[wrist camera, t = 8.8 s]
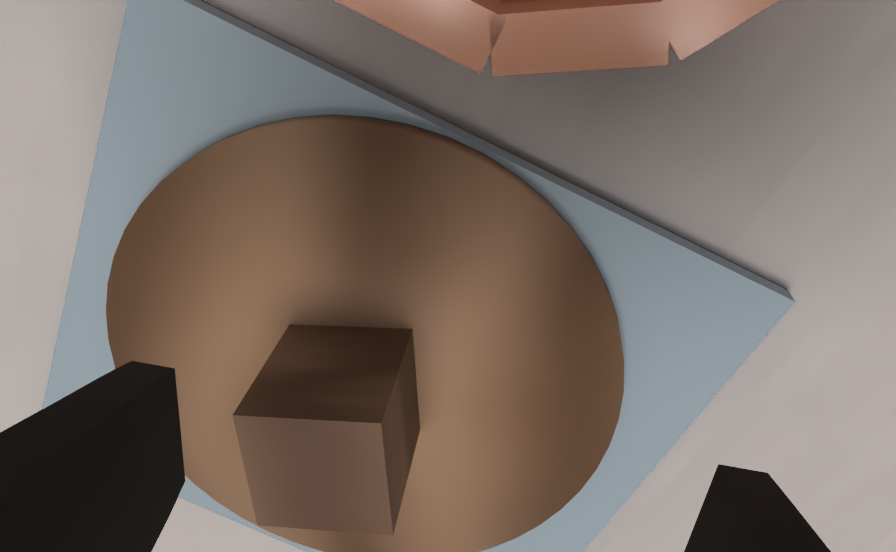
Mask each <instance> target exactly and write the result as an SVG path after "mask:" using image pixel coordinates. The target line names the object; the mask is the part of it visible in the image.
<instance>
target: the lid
mask: <svg viewBox="0 0 896 552" xmlns="http://www.w3.org/2000/svg"><path fill="white" fill-rule="evenodd" d="M106 319H107V330H108V340H109V345H110V349H111V353H112V357H113V361H114V365H115V369H116V368H118V367H120V366H122V365H124V364H126V363H128V362H130V361H136V362H142V363H147V364H153V365H159V366H164V367H170V368H175V376H176V386H177V397H178V408H179V418H180V429H181V440H182V450H183V461H184V472H185V476H186V477H187V478H189V479H190V480H191V481H192V482H193V483H194V484H195V485H196V486H197V487H199V488H200V489H201V490H203V491H204V492H205V493H206V494H208V495H209V496H210V497H211V498H213V499H214V500H215V501H217V502H218V503H220V504H221V505H223V506H224V507H226V508H227V509H229V510H230V511H232V512H234V513H235V514H237V515H238V516H240V517H241V518H243V519H245V520H247V521H249V522H251V523H253V524H255V525H256V526H258V527H260V528H262V529H264V530H266V531H268V532H270V533H273V534H275V535H278V536H280V537H282V538H285V539H287V540H290V541H292V542H294V543H298V544H301V545H304V546H307V547H310V548H313V549H317V550H320V551H323V552H480V551H483V550H487V549H490V548H493V547H495V546H498V545H500V544H503V543H505V542H508V541H510V540H513V539H515V538H517V537H519V536H521V535H523V534H525V533H526V532H528V531H530V530H532V529H534V528H536V527H537V526H539V525H541V524H542V523H543V522H545V521H546V520H547V519H549V518H550V517H551V516H553V515H554V514H556V513H557V512H558V511H560V510H561V509H562V508H563V507H564V506H565V505H566V504H567V503H568V502H569V501H570V500H571V499H572V498H573V497H574V496H575V495H577V494H578V493H579V492H580V491H581V489H582V488H583V487H584V485H585V484H586V483H587V481H588V480H589V479H590V478H591V476H592V475H593V474H594V472H595V471H596V470H597V468H598V466H599V464H600V462H601V461H602V459H603V457H604V455H605V453H606V451H607V450H608V448H609V446H610V443H611V440H612V438H613V435H614V432H615V429H616V426H617V423H618V420H619V416H620V410H621V404H622V399H623V393H624V357H623V350H622V344H621V337H620V331H619V324H618V318H617V315H616V312H615V309H614V305H613V302H612V299H611V296H610V293H609V290H608V287H607V285H606V283H605V281H604V279H603V277H602V275H601V273H600V271H599V269H598V267H597V265H596V263H595V261H594V259H593V257H592V255H591V254H590V252H589V251H588V249H587V248H586V246H585V245H584V244H583V242H582V241H581V239H580V238H579V236H578V235H577V233H576V232H575V230H574V229H573V228H572V226H571V225H570V224H569V223H568V222H567V221H566V220H565V219H564V218H563V217H562V215H561V214H560V213H559V212H558V211H557V210H556V209H555V208H554V207H553V206H552V205H551V203H550V202H549V201H548V200H547V199H546V198H544V197H543V196H542V195H541V194H540V193H538V192H537V191H536V190H535V189H534V188H532V187H531V186H530V185H529V184H528V183H527V182H525V181H524V180H523V179H522V178H521V177H519V176H518V175H517V174H515V173H514V172H512V171H510V170H509V169H507V168H506V167H504V166H503V165H501V164H500V163H498V162H496V161H495V160H493V159H492V158H490V157H489V156H487V155H485V154H484V153H482V152H479V151H477V150H475V149H473V148H471V147H469V146H467V145H465V144H463V143H460V142H458V141H456V140H454V139H452V138H450V137H448V136H444V135H441V134H438V133H435V132H432V131H429V130H426V129H423V128H420V127H417V126H414V125H411V124H406V123H401V122H396V121H391V120H385V119H380V118H375V117H367V116H350V115H334V114H330V115H317V116H303V117H293V118H288V119H283V120H279V121H274V122H270V123H265V124H260V125H257V126H254V127H252V128H249V129H246V130H244V131H241V132H238V133H236V134H233V135H230V136H228V137H225V138H223V139H222V140H220V141H218V142H216V143H215V144H213V145H211V146H209V147H207V148H206V149H204V150H202V151H200V152H199V153H197V154H195V155H194V156H192V157H191V158H190V159H188V160H187V161H185V162H184V163H183V164H182V165H180V166H179V167H178V168H177V169H175V170H174V171H173V172H172V173H170V174H169V175H168V176H167V177H165V178H164V179H163V180H162V181H161V182H160V183H159V184H158V185H157V186H156V187H155V188H154V189H153V191H152V192H151V193H150V194H149V195H148V196H147V197H146V198H145V200H144V201H143V202H142V203H141V204H140V206H139V207H138V209H137V210H136V212H135V214H134V215H133V217H132V218H131V220H130V222H129V223H128V225H127V226H126V228H125V230H124V232H123V235H122V237H121V239H120V242H119V244H118V247H117V249H116V252H115V254H114V257H113V261H112V266H111V270H110V275H109V279H108V284H107V300H106Z"/></svg>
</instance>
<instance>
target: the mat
mask: <svg viewBox="0 0 896 552" xmlns="http://www.w3.org/2000/svg"><path fill="white" fill-rule="evenodd" d="M330 114H334V115H350V116H367V117H375V118H380V119H385V120H391V121H396V122H401V123H406V124H411V125H414V126H417V127H420V128H423V129H426V130H429V131H432V132H435V133H438V134H441V135H444V136H448V137H450V138H452V139H454V140H456V141H458V142H460V143H463V144H465V145H467V146H469V147H471V148H473V149H475V150H477V151H479V152H482V153H484V154H485V155H487V156H489V157H490V158H492V159H493V160H495V161H496V162H498V163H500V164H501V165H503V166H504V167H506V168H507V169H509V170H510V171H512V172H514V173H515V174H517V175H518V176H519V177H521V178H522V179H523V180H524V181H525V182H527V183H528V184H529V185H530V186H531V187H532V188H534V189H535V190H536V191H537V192H538V193H540V194H541V195H542V196H543V197H544V198H546V199H547V200H548V201H549V202H550V203H551V205H552V206H553V207H554V208H555V209H556V210H557V211H558V212H559V213H560V214H561V215H562V217H563V218H564V219H565V220H566V221H567V222H568V223H569V224H570V225H571V226H572V228H573V229H574V230H575V232H576V233H577V235H578V236H579V238H580V239H581V241H582V242H583V244H584V245H585V246H586V248H587V249H588V251H589V252H590V254H591V255H592V257H593V259H594V261H595V263H596V265H597V267H598V269H599V271H600V273H601V275H602V277H603V279H604V281H605V283H606V285H607V287H608V290H609V293H610V296H611V299H612V302H613V305H614V309H615V312H616V315H617V318H618V324H619V331H620V337H621V344H622V350H623V357H624V393H623V399H622V404H621V410H620V416H619V420H618V423H617V426H616V429H615V432H614V435H613V438H612V440H611V443H610V446H609V448H608V450H607V451H606V453H605V455H604V457H603V459H602V461H601V462H600V464H599V466H598V468H597V470H596V471H595V472H594V474H593V475H592V476H591V478H590V479H589V480H588V481H587V483H586V484H585V485H584V487H583V488H582V489H581V491H580V492H579V493H578V494H577V495H575V496H574V497H573V498H572V499H571V500H570V501H569V502H568V503H567V504H566V505H565V506H564V507H563V508H562V509H561V510H560V511H558V512H557V513H556V514H554V515H553V516H551V517H550V518H549V519H547V520H546V521H545V522H543V523H542V524H541V525H539V526H537V527H536V528H534V529H532V530H530V531H528V532H526V533H525V534H523V535H521V536H519V537H517V538H515V539H513V540H510V541H508V542H505V543H503V544H500V545H498V546H495V547H493V548H490V549H487V550H483V551H480V552H583V551H584V550H585V549H586V548H587V547H588V546H589V544H590V543H591V542H592V541H593V540H594V539H595V537H596V536H597V535H598V534H599V533H600V531H601V530H602V529H603V528H604V527H605V526H606V524H607V523H608V522H609V521H610V520H611V518H612V517H613V516H614V515H615V514H616V513H617V511H618V510H619V509H620V508H621V507H622V505H623V504H624V503H625V502H626V501H627V500H628V498H629V497H630V496H631V495H632V494H633V492H634V491H635V490H636V489H637V488H638V487H639V485H640V484H641V483H642V482H643V481H644V480H645V478H646V477H647V476H648V475H649V474H650V472H651V471H652V470H653V469H654V468H655V467H656V465H657V464H658V463H659V462H660V461H661V459H662V458H663V457H664V456H665V455H666V454H667V452H668V451H669V450H670V449H671V448H672V446H673V445H674V444H675V443H676V442H677V441H678V439H679V438H680V437H681V436H682V435H683V434H684V432H685V431H686V430H687V429H688V428H689V426H690V425H691V424H692V423H693V422H694V421H695V419H696V418H697V417H698V416H699V415H700V413H701V412H702V411H703V410H704V409H705V408H706V406H707V405H708V404H709V403H710V402H711V400H712V399H713V398H714V397H715V396H716V395H717V393H718V392H719V391H720V390H721V389H722V388H723V386H724V385H725V384H726V383H727V382H728V380H729V379H730V378H731V377H732V376H733V375H734V373H735V372H736V371H737V370H738V369H739V367H740V366H741V365H742V364H743V363H744V362H745V360H746V359H747V358H748V357H749V356H750V354H751V353H752V352H753V351H754V350H755V349H756V347H757V346H758V345H759V344H760V343H761V342H762V340H763V339H764V338H765V337H766V336H767V334H768V333H769V332H770V331H771V330H772V329H773V327H774V326H775V325H776V324H777V323H778V321H779V320H780V319H781V318H782V317H783V316H784V314H785V313H786V312H787V311H788V310H789V308H790V307H791V306H792V305H793V304H794V303H795V301H794V299H793V297H792V296H791V294H790V292H789V291H788V290H786V289H784V288H782V287H780V286H778V285H776V284H774V283H772V282H770V281H768V280H766V279H764V278H762V277H760V276H758V275H756V274H754V273H752V272H750V271H748V270H746V269H744V268H742V267H740V266H738V265H736V264H734V263H732V262H730V261H728V260H726V259H724V258H722V257H720V256H718V255H716V254H713V253H711V252H709V251H707V250H705V249H703V248H701V247H699V246H697V245H695V244H693V243H691V242H689V241H687V240H685V239H683V238H681V237H679V236H677V235H675V234H673V233H671V232H669V231H667V230H665V229H663V228H661V227H659V226H657V225H655V224H653V223H651V222H649V221H647V220H645V219H643V218H641V217H639V216H636V215H634V214H632V213H630V212H628V211H626V210H624V209H622V208H620V207H618V206H616V205H614V204H612V203H610V202H608V201H606V200H604V199H602V198H600V197H598V196H596V195H594V194H592V193H590V192H588V191H586V190H584V189H582V188H580V187H578V186H576V185H574V184H572V183H570V182H568V181H566V180H564V179H562V178H559V177H557V176H555V175H553V174H551V173H549V172H547V171H545V170H543V169H541V168H539V167H537V166H535V165H533V164H531V163H529V162H527V161H525V160H523V159H521V158H519V157H517V156H515V155H513V154H511V153H509V152H507V151H505V150H503V149H501V148H499V147H497V146H495V145H493V144H491V143H489V142H487V141H485V140H483V139H480V138H478V137H476V136H474V135H472V134H470V133H468V132H466V131H464V130H462V129H460V128H458V127H456V126H454V125H452V124H450V123H448V122H446V121H444V120H442V119H440V118H438V117H436V116H434V115H432V114H430V113H428V112H426V111H424V110H422V109H420V108H418V107H416V106H414V105H412V104H410V103H408V102H406V101H403V100H401V99H399V98H397V97H395V96H393V95H391V94H389V93H387V92H385V91H383V90H381V89H379V88H377V87H375V86H373V85H371V84H369V83H367V82H365V81H363V80H361V79H359V78H357V77H355V76H353V75H351V74H349V73H347V72H345V71H343V70H341V69H339V68H337V67H335V66H333V65H331V64H329V63H326V62H324V61H322V60H320V59H318V58H316V57H314V56H312V55H310V54H308V53H306V52H304V51H302V50H300V49H298V48H296V47H294V46H292V45H290V44H288V43H286V42H284V41H282V40H280V39H278V38H276V37H274V36H272V35H270V34H268V33H266V32H264V31H262V30H260V29H258V28H256V27H254V26H252V25H250V24H247V23H245V22H243V21H241V20H239V19H237V18H235V17H233V16H231V15H229V14H227V13H225V12H223V11H221V10H219V9H217V8H215V7H213V6H211V5H209V4H207V3H205V2H203V1H201V0H128V2H127V7H126V12H125V17H124V22H123V26H122V31H121V36H120V41H119V45H118V50H117V55H116V60H115V64H114V69H113V74H112V79H111V84H110V88H109V93H108V98H107V103H106V107H105V112H104V117H103V122H102V126H101V131H100V136H99V141H98V146H97V150H96V155H95V160H94V165H93V169H92V174H91V179H90V184H89V188H88V193H87V198H86V203H85V208H84V212H83V217H82V222H81V227H80V231H79V236H78V241H77V246H76V250H75V255H74V260H73V265H72V270H71V274H70V279H69V284H68V289H67V293H66V298H65V303H64V308H63V312H62V317H61V322H60V327H59V332H58V336H57V341H56V346H55V351H54V355H53V360H52V365H51V370H50V374H49V379H48V384H47V389H46V394H45V398H44V403H43V408H42V409H44V408H46V407H48V406H49V405H51V404H53V403H55V402H57V401H58V400H60V399H62V398H64V397H65V396H67V395H69V394H71V393H73V392H74V391H76V390H78V389H80V388H81V387H83V386H85V385H87V384H89V383H90V382H92V381H94V380H96V379H98V378H99V377H101V376H103V375H105V374H107V373H109V372H111V371H112V370H114V369H115V365H114V361H113V357H112V353H111V349H110V345H109V340H108V330H107V319H106V300H107V284H108V279H109V275H110V270H111V266H112V261H113V257H114V254H115V252H116V249H117V247H118V244H119V242H120V239H121V237H122V235H123V232H124V230H125V228H126V226H127V225H128V223H129V222H130V220H131V218H132V217H133V215H134V214H135V212H136V210H137V209H138V207H139V206H140V204H141V203H142V202H143V201H144V200H145V198H146V197H147V196H148V195H149V194H150V193H151V192H152V191H153V189H154V188H155V187H156V186H157V185H158V184H159V183H160V182H161V181H162V180H163V179H164V178H165V177H167V176H168V175H169V174H170V173H172V172H173V171H174V170H175V169H177V168H178V167H179V166H180V165H182V164H183V163H184V162H185V161H187V160H188V159H190V158H191V157H192V156H194V155H195V154H197V153H199V152H200V151H202V150H204V149H206V148H207V147H209V146H211V145H213V144H215V143H216V142H218V141H220V140H222V139H223V138H225V137H228V136H230V135H233V134H236V133H238V132H241V131H244V130H246V129H249V128H252V127H254V126H257V125H260V124H265V123H270V122H274V121H279V120H283V119H288V118H293V117H303V116H317V115H330ZM178 497H179V498H181V499H184V500H186V501H188V502H191V503H193V504H195V505H198V506H200V507H202V508H205V509H207V510H209V511H212V512H214V513H217V514H219V515H221V516H224V517H226V518H228V519H231V520H233V521H235V522H238V523H240V524H242V525H245V526H247V527H250V528H252V529H254V530H257V531H259V532H261V533H264V534H266V535H268V536H271V537H273V538H275V539H278V540H280V541H283V542H285V543H287V544H290V545H292V546H294V547H297V548H299V549H301V550H304V551H306V552H323V551H320V550H317V549H313V548H310V547H307V546H304V545H301V544H298V543H294V542H292V541H290V540H287V539H285V538H282V537H280V536H278V535H275V534H273V533H270V532H268V531H266V530H264V529H262V528H260V527H258V526H256V525H255V524H253V523H251V522H249V521H247V520H245V519H243V518H241V517H240V516H238V515H237V514H235V513H234V512H232V511H230V510H229V509H227V508H226V507H224V506H223V505H221V504H220V503H218V502H217V501H215V500H214V499H213V498H211V497H210V496H209V495H208V494H206V493H205V492H204V491H203V490H201V489H200V488H199V487H197V486H196V485H195V484H194V483H193V482H192V481H191V480H190V479H189V478H187V477H186V476H185V483H184V485H183V487H182V489H181V491H180V494H179V496H178Z"/></svg>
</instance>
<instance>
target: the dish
mask: <svg viewBox="0 0 896 552" xmlns="http://www.w3.org/2000/svg"><path fill="white" fill-rule="evenodd" d="M334 1H336V2H338V3H340V4H342V5H344V6H346V7H348V8H350V9H352V10H354V11H356V12H358V13H360V14H362V15H364V16H366V17H368V18H370V19H372V20H374V21H376V22H378V23H380V24H382V25H384V26H386V27H388V28H390V29H392V30H394V31H396V32H398V33H400V34H402V35H404V36H406V37H408V38H410V39H412V40H414V41H416V42H418V43H420V44H422V45H424V46H426V47H428V48H430V49H432V50H434V51H436V52H438V53H439V54H441V55H443V56H445V57H447V58H449V59H451V60H453V61H455V62H457V63H459V64H461V65H463V66H465V67H467V68H469V69H471V70H473V71H475V72H477V73H479V74H481V73H482V71H483V69H484V67H485V65H486V63H487V61H488V58H489V56H490V54H491V62H492V77H495V76H511V75H526V74H541V73H556V72H571V71H587V70H602V69H617V68H632V67H648V66H663V65H668V58H669V47H670V49H671V50H672V51H673V52H674V53H675V55H676V56H677V57H678V58H679V60H680V61H682V60H683V59H685V58H686V57H688V56H690V55H691V54H693V53H695V52H696V51H698V50H699V49H701V48H703V47H704V46H706V45H708V44H709V43H711V42H712V41H714V40H716V39H717V38H719V37H721V36H722V35H724V34H725V33H727V32H729V31H730V30H732V29H734V28H735V27H737V26H738V25H740V24H742V23H743V22H745V21H747V20H748V19H750V18H751V17H753V16H755V15H756V14H758V13H760V12H761V11H763V10H764V9H766V8H768V7H769V6H771V5H773V4H774V3H776V2H777V1H779V0H334Z"/></svg>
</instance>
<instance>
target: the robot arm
mask: <svg viewBox="0 0 896 552" xmlns="http://www.w3.org/2000/svg"><path fill="white" fill-rule="evenodd" d="M184 483H185V472H184V461H183V450H182V440H181V429H180V418H179V408H178V397H177V386H176V376H175V368H170V367H164V366H159V365H153V364H147V363H142V362H136V361H130V362H128V363H126V364H124V365H122V366H120V367H118V368H116V369H114V370H112V371H111V372H109V373H107V374H105V375H103V376H101V377H99V378H98V379H96V380H94V381H92V382H90V383H89V384H87V385H85V386H83V387H81V388H80V389H78V390H76V391H74V392H73V393H71V394H69V395H67V396H65V397H64V398H62V399H60V400H58V401H57V402H55V403H53V404H51V405H49V406H48V407H46V408H44V409H42V410H41V411H39V412H37V413H35V414H33V415H32V416H30V417H28V418H26V419H24V420H22V421H21V422H19V423H17V424H15V425H13V426H12V427H10V428H8V429H6V430H4V431H3V432H1V433H0V552H151V551H152V549H153V547H154V545H155V543H156V541H157V539H158V537H159V535H160V533H161V531H162V529H163V527H164V525H165V523H166V521H167V519H168V517H169V515H170V513H171V511H172V509H173V506H174V504H175V502H176V500H177V498H178V496H179V494H180V491H181V489H182V487H183V485H184ZM684 552H831V551H830V550H829V549H828V548H827V546H826V545H825V544H824V543H823V541H822V540H821V539H820V538H819V536H818V535H817V534H816V533H815V531H814V530H813V529H812V528H811V526H810V525H809V524H808V523H807V521H806V520H805V519H804V517H803V516H802V515H801V514H800V512H799V511H798V510H797V509H796V507H795V506H794V505H793V504H792V502H791V501H790V500H789V499H788V497H787V496H786V495H785V494H784V492H783V491H782V490H781V489H780V488H779V486H778V485H777V484H776V483H775V481H774V480H773V479H772V478H771V477H770V475H769V474H768V473H764V472H758V471H753V470H747V469H741V468H736V467H730V466H724V465H718V467H717V470H716V472H715V475H714V477H713V480H712V482H711V485H710V487H709V490H708V493H707V495H706V498H705V500H704V503H703V505H702V508H701V510H700V513H699V516H698V518H697V521H696V523H695V526H694V528H693V531H692V533H691V536H690V539H689V541H688V544H687V546H686V549H685V551H684Z"/></svg>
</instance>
